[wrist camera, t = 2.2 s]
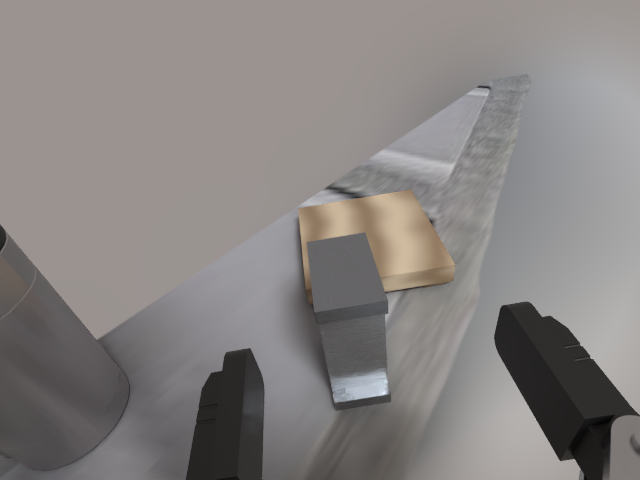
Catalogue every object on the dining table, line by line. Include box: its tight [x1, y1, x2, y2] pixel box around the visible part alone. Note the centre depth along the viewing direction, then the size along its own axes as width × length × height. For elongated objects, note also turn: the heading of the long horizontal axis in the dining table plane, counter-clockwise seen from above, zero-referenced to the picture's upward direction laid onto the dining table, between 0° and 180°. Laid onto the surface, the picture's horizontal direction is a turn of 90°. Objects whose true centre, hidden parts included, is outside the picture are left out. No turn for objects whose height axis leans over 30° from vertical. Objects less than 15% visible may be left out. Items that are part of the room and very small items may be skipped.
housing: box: [307, 232, 391, 411], centre depth 29 cm, size 4×7×12 cm, turn 5°
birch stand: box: [298, 190, 455, 304], centre depth 43 cm, size 15×15×3 cm
